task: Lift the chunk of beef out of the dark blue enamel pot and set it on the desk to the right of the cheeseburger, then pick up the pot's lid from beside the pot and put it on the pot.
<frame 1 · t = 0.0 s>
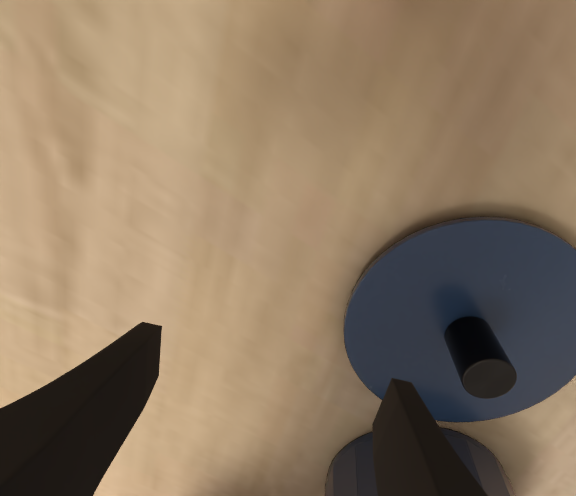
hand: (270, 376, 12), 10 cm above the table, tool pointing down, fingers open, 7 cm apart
pot lid: (464, 328, 22), point 1 cm above the table
pot: (413, 486, 29), on the table
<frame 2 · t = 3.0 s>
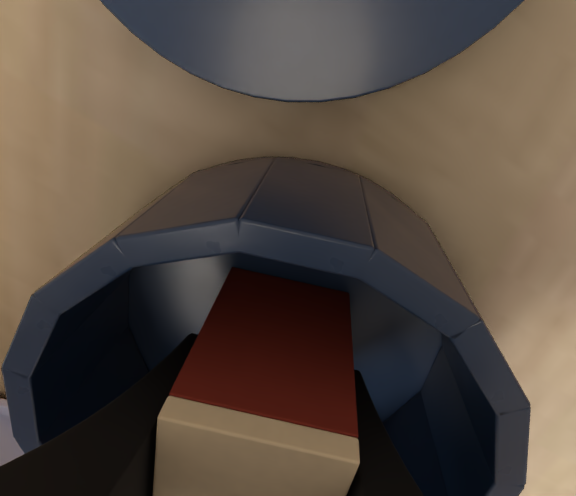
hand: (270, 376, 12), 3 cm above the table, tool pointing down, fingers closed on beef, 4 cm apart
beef: (278, 333, 14), point 1 cm above the table, touching gripper, pot
pot: (280, 325, 15), on the table
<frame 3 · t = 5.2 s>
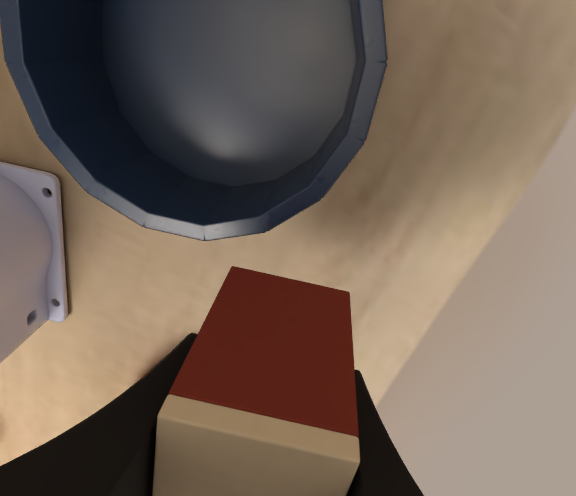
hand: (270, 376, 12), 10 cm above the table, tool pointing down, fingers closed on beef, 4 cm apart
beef: (278, 332, 14), point 8 cm above the table, touching gripper
pot: (228, 61, 18), on the table
when the fingers open (2 cm above the table, at t = 7.6 s): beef stays where it is, on the table.
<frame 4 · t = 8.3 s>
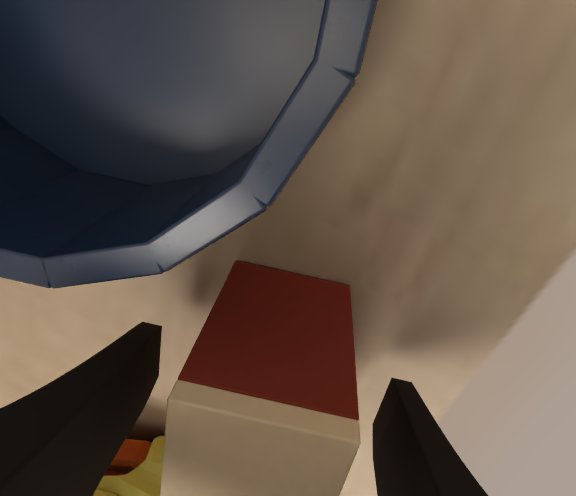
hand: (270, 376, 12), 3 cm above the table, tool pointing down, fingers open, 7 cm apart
cheeseburger: (141, 491, 20), on the table
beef: (280, 325, 15), on the table
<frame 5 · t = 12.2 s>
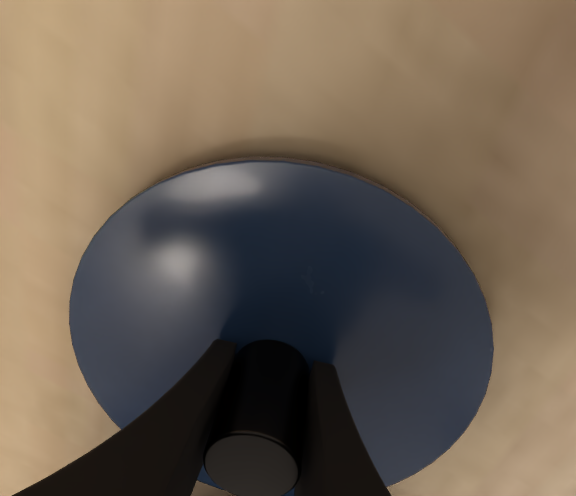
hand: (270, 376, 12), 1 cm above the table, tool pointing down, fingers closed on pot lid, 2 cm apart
pot lid: (273, 358, 13), point 1 cm above the table, touching gripper
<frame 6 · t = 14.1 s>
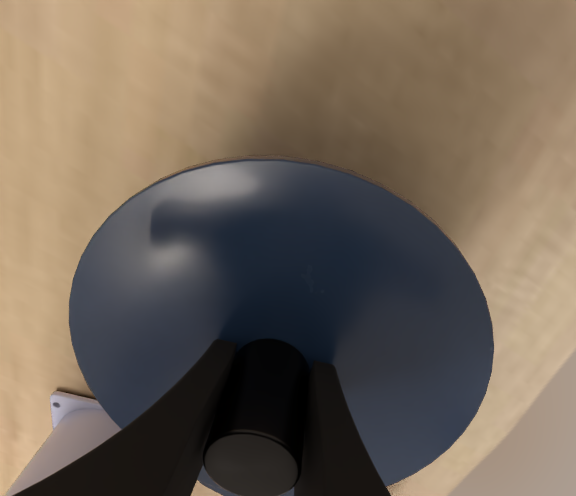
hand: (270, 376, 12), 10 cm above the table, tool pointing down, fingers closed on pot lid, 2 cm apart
pot lid: (273, 357, 13), point 10 cm above the table, touching gripper
when the fingers open (6 cm above the table, at t = 16.4 s): pot lid stays where it is, resting on pot.
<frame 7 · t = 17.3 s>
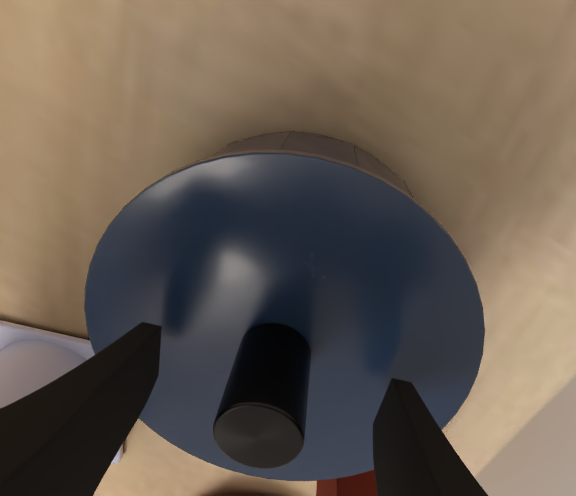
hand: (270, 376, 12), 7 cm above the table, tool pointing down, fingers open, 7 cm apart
pot lid: (277, 341, 14), point 5 cm above the table, touching pot
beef: (360, 437, 23), on the table
pot: (292, 267, 19), on the table
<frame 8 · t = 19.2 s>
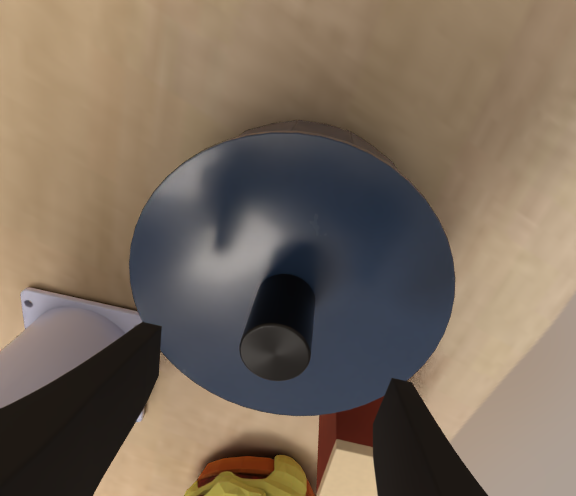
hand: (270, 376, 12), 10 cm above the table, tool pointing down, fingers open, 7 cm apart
pot lid: (287, 292, 17), point 5 cm above the table, touching pot
cheeseburger: (255, 488, 31), on the table
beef: (357, 395, 26), on the table
pot: (298, 239, 22), on the table
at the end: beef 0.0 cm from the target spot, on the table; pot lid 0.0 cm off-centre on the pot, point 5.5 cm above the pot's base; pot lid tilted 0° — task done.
